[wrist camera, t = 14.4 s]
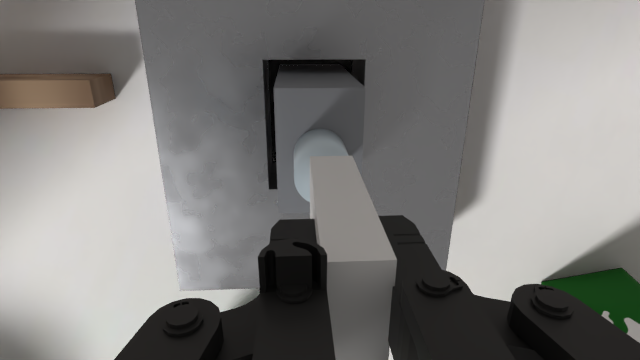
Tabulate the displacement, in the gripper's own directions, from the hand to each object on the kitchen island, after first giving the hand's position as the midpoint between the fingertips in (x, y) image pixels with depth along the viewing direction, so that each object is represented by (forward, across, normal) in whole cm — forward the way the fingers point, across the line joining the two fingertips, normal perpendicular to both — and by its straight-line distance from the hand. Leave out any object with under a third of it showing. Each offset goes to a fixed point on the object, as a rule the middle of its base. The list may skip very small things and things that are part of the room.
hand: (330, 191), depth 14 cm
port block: (+14, 0, 0) cm, 14 cm away
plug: (+14, 0, 0) cm, 14 cm away
